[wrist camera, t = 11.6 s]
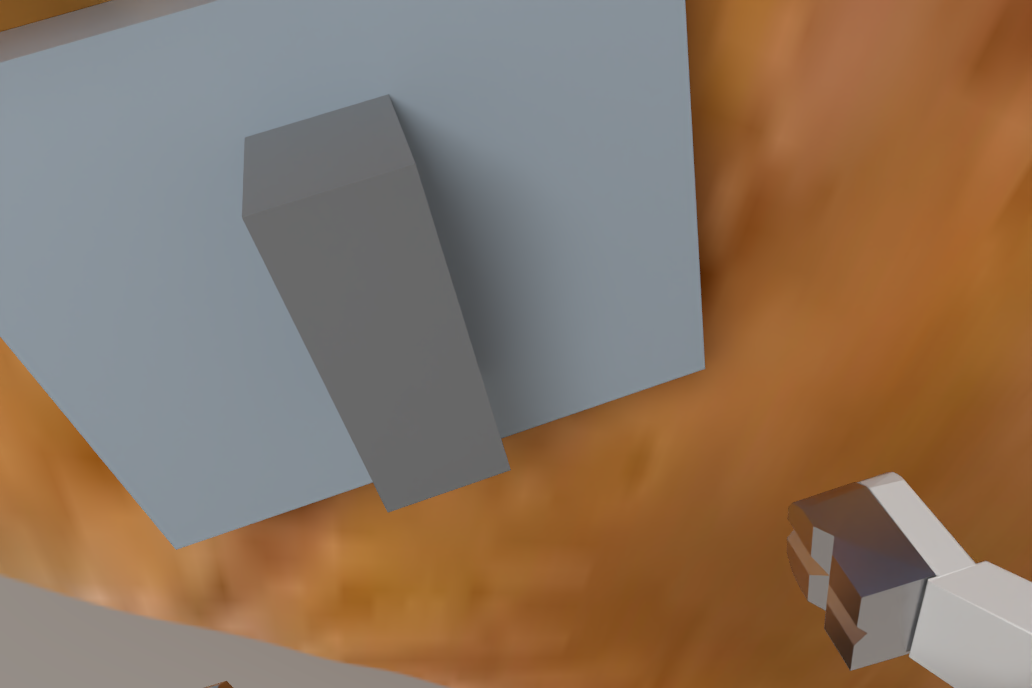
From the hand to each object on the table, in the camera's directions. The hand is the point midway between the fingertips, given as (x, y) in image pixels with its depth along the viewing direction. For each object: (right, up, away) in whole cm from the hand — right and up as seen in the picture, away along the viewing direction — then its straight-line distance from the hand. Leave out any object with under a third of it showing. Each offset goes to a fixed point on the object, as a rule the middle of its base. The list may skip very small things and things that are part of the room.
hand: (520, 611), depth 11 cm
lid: (-4, +7, +9) cm, 12 cm away
